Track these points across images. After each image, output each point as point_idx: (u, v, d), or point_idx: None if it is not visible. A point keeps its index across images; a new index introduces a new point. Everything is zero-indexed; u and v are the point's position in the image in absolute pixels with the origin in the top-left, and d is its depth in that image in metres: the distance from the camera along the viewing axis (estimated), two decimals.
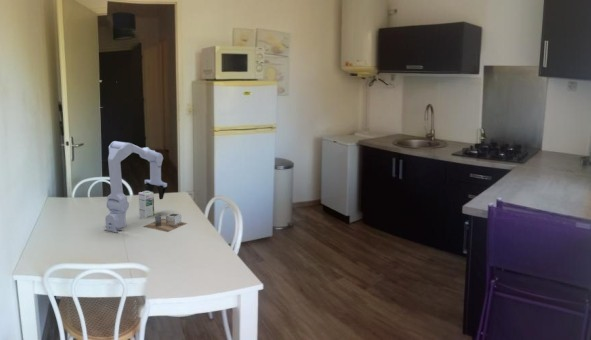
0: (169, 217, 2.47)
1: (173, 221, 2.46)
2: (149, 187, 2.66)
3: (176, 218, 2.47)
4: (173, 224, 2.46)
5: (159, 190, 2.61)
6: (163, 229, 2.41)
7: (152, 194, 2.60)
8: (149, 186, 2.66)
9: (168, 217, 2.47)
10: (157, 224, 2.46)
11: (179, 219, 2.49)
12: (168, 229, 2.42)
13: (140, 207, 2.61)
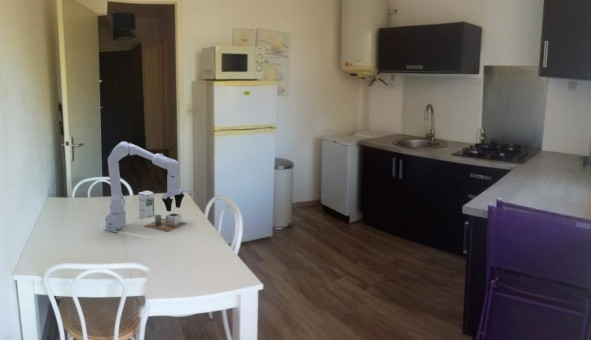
0: (169, 217, 2.47)
1: (173, 221, 2.46)
2: (176, 197, 2.51)
3: (176, 218, 2.47)
4: (173, 224, 2.46)
5: None
6: (163, 229, 2.41)
7: (152, 194, 2.60)
8: (176, 196, 2.51)
9: (168, 217, 2.47)
10: (157, 224, 2.46)
11: (179, 219, 2.49)
12: (168, 229, 2.42)
13: (140, 207, 2.61)
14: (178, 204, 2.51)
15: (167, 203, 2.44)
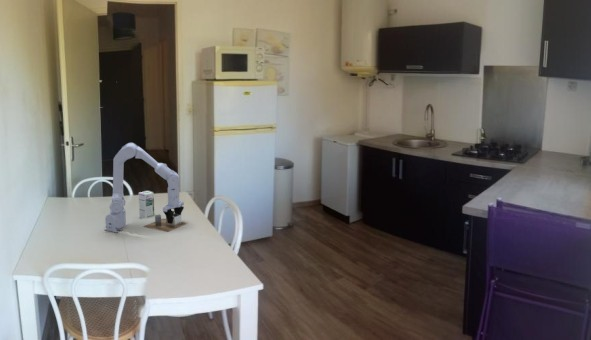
0: None
1: (173, 221, 2.46)
2: (175, 209, 2.51)
3: (176, 218, 2.47)
4: (173, 224, 2.46)
5: None
6: (163, 229, 2.41)
7: (152, 194, 2.60)
8: (175, 208, 2.51)
9: None
10: (157, 224, 2.46)
11: (179, 219, 2.49)
12: (168, 229, 2.42)
13: (140, 207, 2.61)
14: None
15: (168, 215, 2.46)
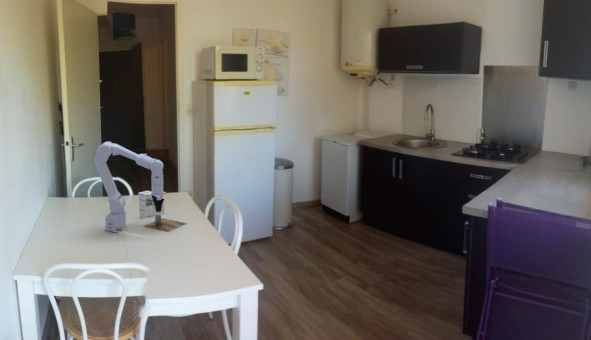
0: None
1: (162, 209, 2.44)
2: (155, 198, 2.47)
3: (163, 206, 2.45)
4: (162, 212, 2.44)
5: None
6: (163, 229, 2.41)
7: None
8: (155, 197, 2.47)
9: None
10: (157, 224, 2.46)
11: None
12: (168, 229, 2.42)
13: (140, 207, 2.61)
14: None
15: (157, 204, 2.42)
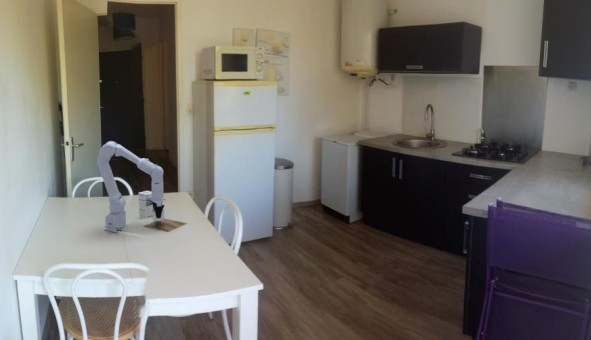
0: None
1: (162, 215, 2.45)
2: (155, 204, 2.48)
3: None
4: (162, 218, 2.45)
5: (154, 208, 2.41)
6: (163, 229, 2.41)
7: None
8: (155, 203, 2.48)
9: None
10: (157, 224, 2.46)
11: None
12: (168, 229, 2.42)
13: (140, 207, 2.61)
14: None
15: (157, 210, 2.42)
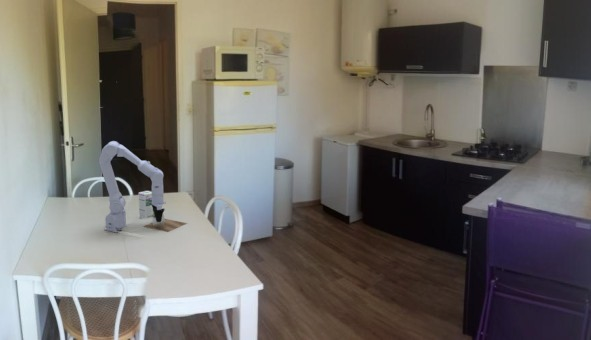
0: None
1: (162, 221, 2.45)
2: (155, 207, 2.49)
3: None
4: (162, 224, 2.46)
5: (154, 212, 2.41)
6: (163, 229, 2.41)
7: None
8: (155, 206, 2.49)
9: None
10: None
11: None
12: (168, 229, 2.42)
13: (140, 207, 2.61)
14: None
15: (158, 214, 2.42)
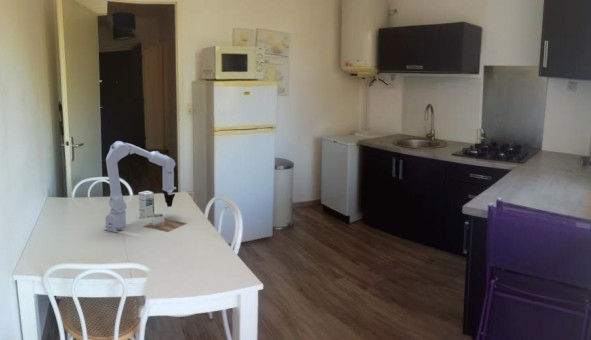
0: (157, 218, 2.44)
1: (162, 221, 2.45)
2: (165, 192, 2.59)
3: None
4: (162, 224, 2.46)
5: (165, 197, 2.50)
6: (163, 229, 2.41)
7: (152, 194, 2.60)
8: (165, 191, 2.58)
9: (156, 218, 2.44)
10: None
11: None
12: (168, 229, 2.42)
13: (140, 207, 2.61)
14: None
15: (168, 199, 2.52)
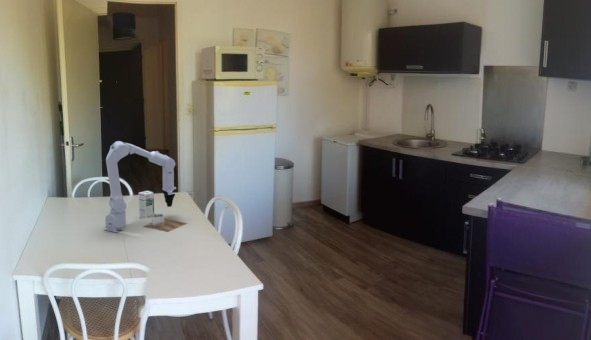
0: (157, 218, 2.44)
1: (162, 221, 2.45)
2: (165, 192, 2.59)
3: None
4: (162, 224, 2.46)
5: (165, 197, 2.50)
6: (163, 229, 2.41)
7: (152, 194, 2.60)
8: (165, 191, 2.58)
9: (156, 218, 2.44)
10: None
11: None
12: (168, 229, 2.42)
13: (140, 207, 2.61)
14: None
15: (168, 199, 2.52)
